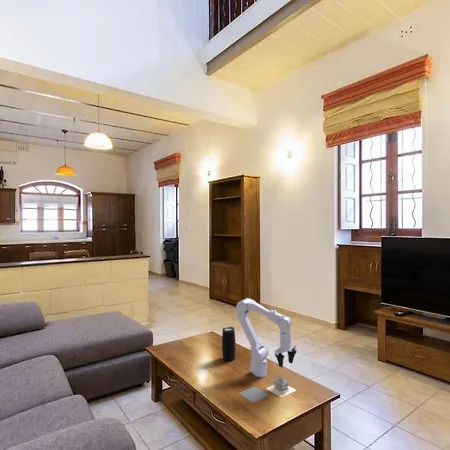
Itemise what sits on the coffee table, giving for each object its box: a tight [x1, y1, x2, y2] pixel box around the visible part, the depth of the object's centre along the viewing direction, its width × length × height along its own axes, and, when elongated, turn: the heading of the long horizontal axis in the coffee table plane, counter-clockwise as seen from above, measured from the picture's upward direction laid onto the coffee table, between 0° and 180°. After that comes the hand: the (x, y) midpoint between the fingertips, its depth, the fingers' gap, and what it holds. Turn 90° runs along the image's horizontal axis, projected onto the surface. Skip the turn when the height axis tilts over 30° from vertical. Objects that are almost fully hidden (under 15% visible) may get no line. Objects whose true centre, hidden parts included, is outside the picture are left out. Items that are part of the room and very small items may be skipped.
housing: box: [272, 375, 290, 393], centre depth 162 cm, size 6×4×5 cm
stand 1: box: [238, 386, 270, 403], centre depth 157 cm, size 11×11×2 cm
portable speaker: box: [221, 326, 237, 362], centre depth 203 cm, size 9×9×20 cm
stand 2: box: [265, 384, 297, 398], centre depth 162 cm, size 11×11×2 cm
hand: (285, 364), depth 171 cm, fingers open, 7 cm apart
